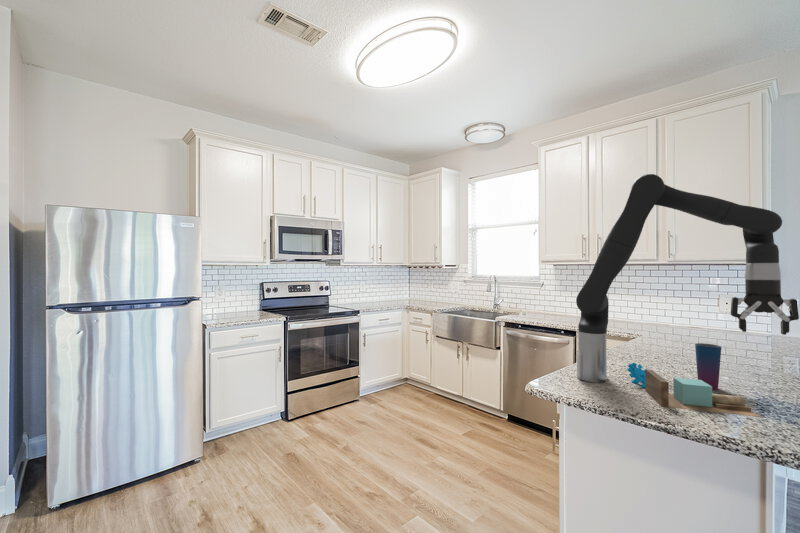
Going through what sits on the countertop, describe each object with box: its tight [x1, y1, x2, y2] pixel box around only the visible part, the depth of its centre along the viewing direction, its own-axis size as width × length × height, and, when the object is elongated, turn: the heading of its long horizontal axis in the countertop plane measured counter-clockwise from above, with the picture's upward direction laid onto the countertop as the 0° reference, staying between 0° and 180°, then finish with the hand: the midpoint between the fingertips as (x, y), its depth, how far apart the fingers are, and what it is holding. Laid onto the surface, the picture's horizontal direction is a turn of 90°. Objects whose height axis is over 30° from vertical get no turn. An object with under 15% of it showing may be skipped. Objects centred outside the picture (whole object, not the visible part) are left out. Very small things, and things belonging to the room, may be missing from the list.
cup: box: [694, 342, 722, 391], centre depth 123 cm, size 7×7×15 cm
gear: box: [626, 362, 648, 389], centre depth 127 cm, size 11×6×10 cm
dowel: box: [712, 393, 746, 406], centre depth 106 cm, size 8×3×3 cm, turn 72°
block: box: [672, 377, 713, 407], centre depth 109 cm, size 7×7×6 cm
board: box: [644, 369, 762, 418], centre depth 108 cm, size 23×14×8 cm, turn 72°
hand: (763, 332), depth 109 cm, fingers open, 8 cm apart
